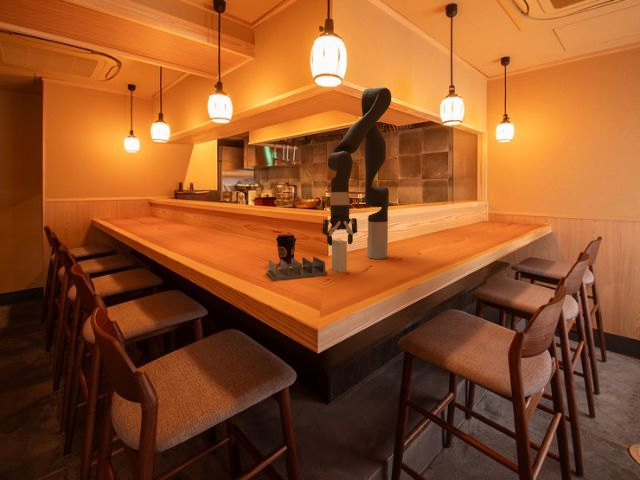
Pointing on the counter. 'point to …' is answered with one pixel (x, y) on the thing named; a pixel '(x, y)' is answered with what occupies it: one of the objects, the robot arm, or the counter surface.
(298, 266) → the dish rack
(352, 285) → the counter surface
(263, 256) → the counter surface
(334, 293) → the counter surface
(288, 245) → the coffee cup
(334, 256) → the tall cream pillar
